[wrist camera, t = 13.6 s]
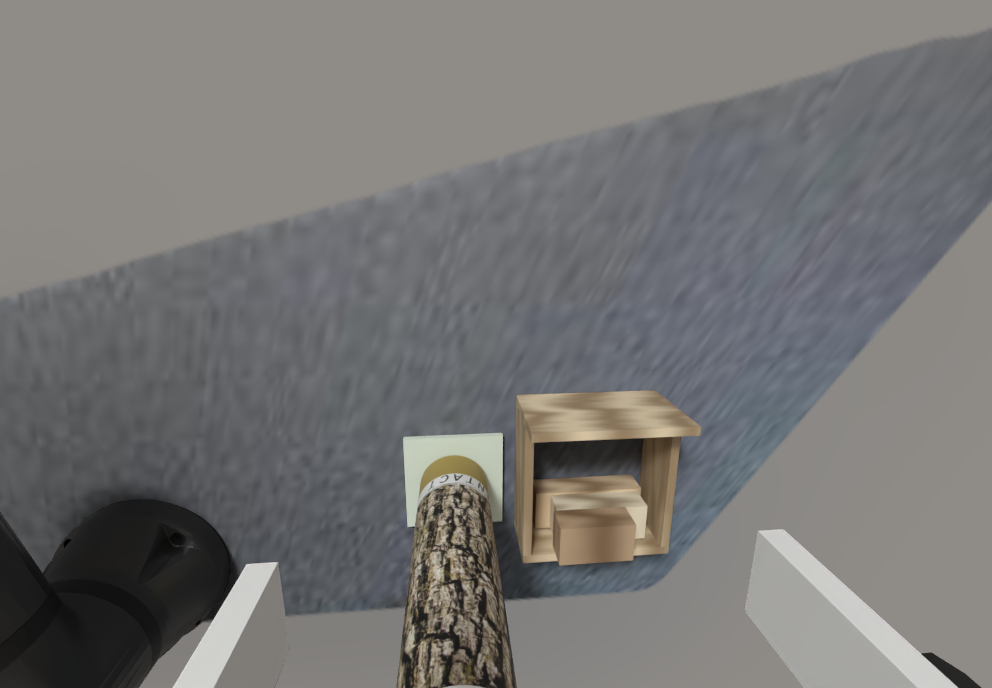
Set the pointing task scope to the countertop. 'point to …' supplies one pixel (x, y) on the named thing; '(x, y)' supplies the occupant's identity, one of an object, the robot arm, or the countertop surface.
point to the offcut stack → (590, 517)
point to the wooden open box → (601, 422)
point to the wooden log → (455, 586)
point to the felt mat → (432, 448)
